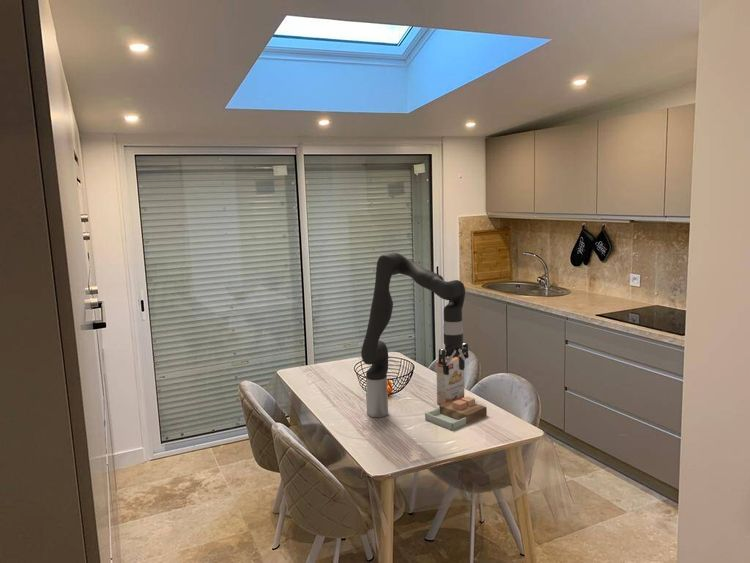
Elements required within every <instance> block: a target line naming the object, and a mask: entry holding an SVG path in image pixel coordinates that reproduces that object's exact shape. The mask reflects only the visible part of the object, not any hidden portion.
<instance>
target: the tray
mask: <svg viewBox="0 0 750 563" xmlns="http://www.w3.org/2000/svg"><path fill="white" fill-rule="evenodd" d="M424 419H425V421H427V422H430V423H432V424H435V425H437V426H440V427H442V428H445V429H448V430H450V431H454V430H457V429H459V428H462V427H464V426H466V425H467V424H466V417H465V418H462V419H460V420H456V419H453V418H451V417H448V416H445V415H442V414H440V408H439V407H437V408H434V409H433V410H430V411H427V412H424Z"/></svg>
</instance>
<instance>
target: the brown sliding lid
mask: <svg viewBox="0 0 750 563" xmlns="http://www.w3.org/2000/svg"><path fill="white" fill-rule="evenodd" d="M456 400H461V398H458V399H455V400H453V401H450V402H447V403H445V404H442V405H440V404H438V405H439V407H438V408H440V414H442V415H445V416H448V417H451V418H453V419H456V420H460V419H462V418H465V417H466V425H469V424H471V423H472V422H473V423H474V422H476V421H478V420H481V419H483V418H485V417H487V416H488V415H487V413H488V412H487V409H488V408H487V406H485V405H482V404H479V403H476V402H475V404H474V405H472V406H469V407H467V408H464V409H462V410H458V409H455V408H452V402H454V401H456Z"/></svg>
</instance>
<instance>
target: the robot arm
mask: <svg viewBox="0 0 750 563" xmlns="http://www.w3.org/2000/svg"><path fill="white" fill-rule="evenodd" d="M375 270H376V271H375V283H374V289H373V296H372V302H371V307H370V312H369V319H368V323H367V324H368V325H367V328H366V332H365V335H364V339H363V344H362V347H361V351H360V355H361V360H362V362H364V364H365V365H371V366H370V367H369V368H368V369H367V370H366V372H365V376H366V377H365V379H366V380H365V381H366V393H365V395H366V396H365V400H366V402H365V403H366V414H368V416H370V417H371V418H383V417H386V416H388V415H389V397H388V395H389V392H388V377H387V375H388V372H389V350H388V346H387V345H386V344H385V342H384V341H382V340H380V337H381V336H382V334H383V332H384V331H385V329H386V328H387V327H388V324H389V322H390V321H391V318H392V315H393V314H392V313H393V308H394V301H393V298H392V295H391V292H390V283H391V279H392V276H395V275H398V274H401V275H404V276H408V277H410V278H411V279H412V280H414V282H415V283H416V284H417V285H419V286H420V287H421V288H424V289H426V290H428V291H431V292H433V293H434V294H435V295H437V296H438V297H439V298H440V299H442V300H445V301H448V302H447V305H445V306H444V308H443V327H442V328H443V344H444V346H445V347H444V349H443V348H439V349H438V361H439V364H441V365H443V373H444V374H445V375H449V366H448V365H449V363H450V361H451V360H452V358H455V357H458V358H459V359H460V360H459V369H460V370H464V371H465V368H466V366H465V365H466V363H465V361H466V360H467V359H468V358H469V345H468V343H465V342H464V328H463V326H464V325H463V306H464V302H465V298H466V287H465V284H464V283H463V282H462V281H461V280H458V279H456V280H455V279H453V280H450V281H446V280H444V277H443V276H442V275H440V274H438V273H437V272H434V271H431V270H429V269H426V268H424V267H422V266H420V265H419V264H417V263H415V262H413V261H411V260H410V259H408V258H407V257H405V256H404V255H403V254H401V253H398V252H389V253H384V254H382V255H380V256H379V257H378V259H377V263H376V269H375ZM448 357H449V358H448ZM446 360H447V362H446Z"/></svg>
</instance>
